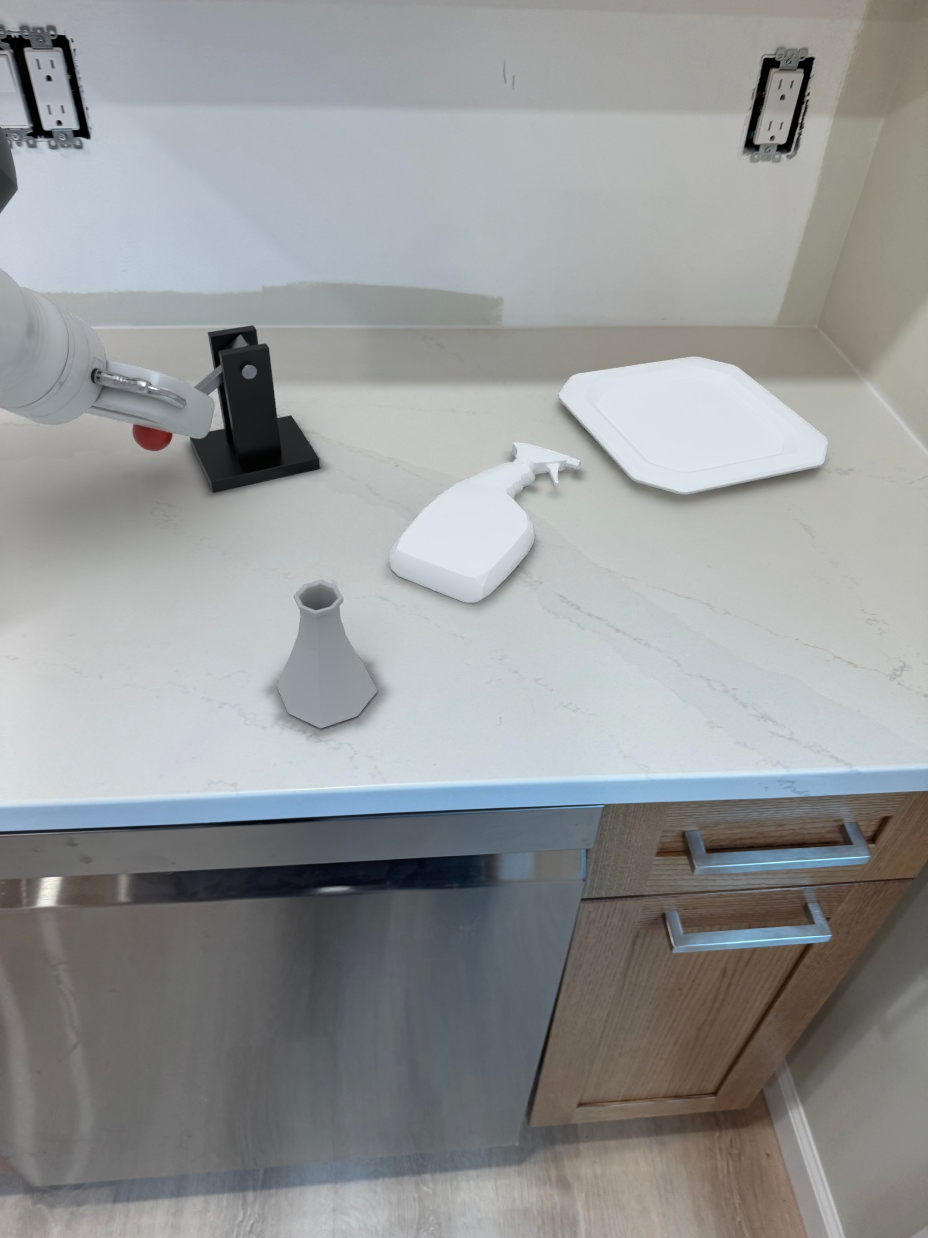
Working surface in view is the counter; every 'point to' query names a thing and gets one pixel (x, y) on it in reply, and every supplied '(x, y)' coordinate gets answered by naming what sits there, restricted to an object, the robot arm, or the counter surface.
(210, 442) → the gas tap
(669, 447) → the plate
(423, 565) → the spray bottle
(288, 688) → the flask
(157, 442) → the lever
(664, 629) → the counter surface
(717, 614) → the counter surface
